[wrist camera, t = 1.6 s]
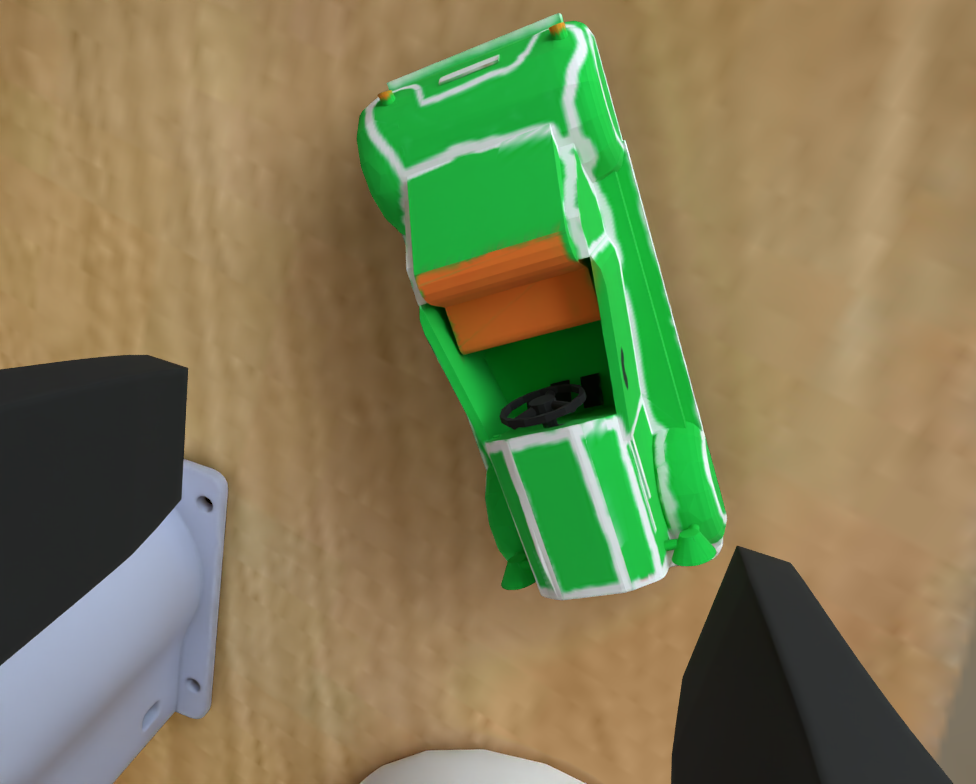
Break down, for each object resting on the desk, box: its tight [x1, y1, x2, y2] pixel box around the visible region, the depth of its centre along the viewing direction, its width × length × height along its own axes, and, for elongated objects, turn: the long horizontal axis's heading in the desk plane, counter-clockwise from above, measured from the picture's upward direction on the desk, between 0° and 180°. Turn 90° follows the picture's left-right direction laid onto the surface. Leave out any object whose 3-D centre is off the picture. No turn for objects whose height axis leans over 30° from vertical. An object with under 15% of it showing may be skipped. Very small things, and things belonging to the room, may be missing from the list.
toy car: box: [357, 13, 727, 600], centre depth 16 cm, size 12×5×4 cm, turn 19°
